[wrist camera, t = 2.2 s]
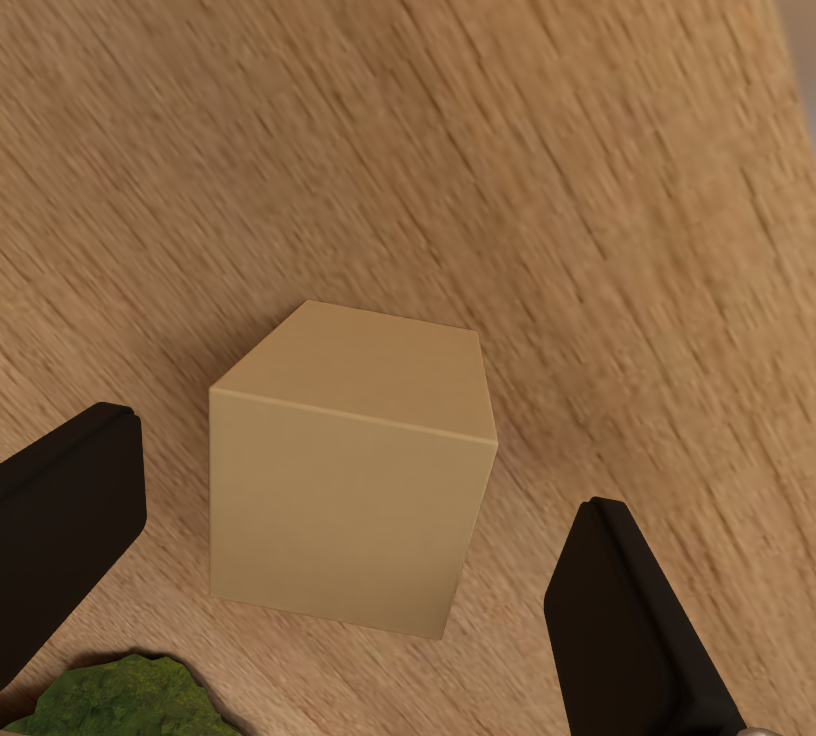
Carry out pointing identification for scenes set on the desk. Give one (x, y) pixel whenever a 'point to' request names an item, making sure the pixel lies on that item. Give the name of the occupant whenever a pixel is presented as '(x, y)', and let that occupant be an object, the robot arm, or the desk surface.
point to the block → (349, 468)
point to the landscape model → (125, 703)
